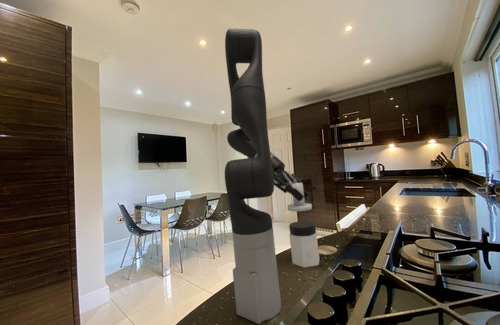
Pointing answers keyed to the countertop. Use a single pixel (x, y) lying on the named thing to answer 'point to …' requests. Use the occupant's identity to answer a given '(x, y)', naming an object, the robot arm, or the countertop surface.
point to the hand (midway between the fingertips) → (304, 197)
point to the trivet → (326, 249)
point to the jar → (304, 244)
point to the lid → (299, 204)
